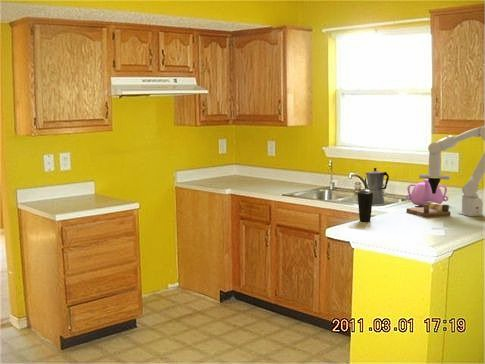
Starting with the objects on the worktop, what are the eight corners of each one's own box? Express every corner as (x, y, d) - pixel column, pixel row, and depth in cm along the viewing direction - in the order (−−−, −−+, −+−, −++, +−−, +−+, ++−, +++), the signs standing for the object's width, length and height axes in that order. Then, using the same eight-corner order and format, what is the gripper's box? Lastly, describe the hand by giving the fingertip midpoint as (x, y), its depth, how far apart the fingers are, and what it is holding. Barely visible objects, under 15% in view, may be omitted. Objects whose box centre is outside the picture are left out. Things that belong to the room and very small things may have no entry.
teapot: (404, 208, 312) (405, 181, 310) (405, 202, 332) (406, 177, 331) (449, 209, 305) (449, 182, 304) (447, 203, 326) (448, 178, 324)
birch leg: (425, 206, 301) (425, 201, 300) (430, 206, 302) (430, 201, 301) (444, 211, 287) (444, 205, 286) (449, 210, 288) (450, 205, 287)
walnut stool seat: (450, 215, 287) (450, 203, 286) (425, 217, 283) (425, 205, 282) (430, 210, 302) (430, 199, 301) (406, 212, 298) (406, 200, 297)
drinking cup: (376, 220, 276) (377, 178, 273) (367, 223, 270) (368, 179, 268) (362, 219, 281) (362, 177, 279) (353, 221, 275) (353, 178, 273)
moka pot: (369, 201, 334) (370, 166, 332) (393, 204, 323) (394, 168, 321) (360, 203, 328) (360, 167, 325) (384, 206, 317) (384, 169, 314)
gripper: (418, 166, 295) (417, 193, 297) (448, 167, 289) (447, 195, 290) (421, 165, 301) (420, 191, 303) (450, 166, 295) (450, 193, 296)
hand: (434, 193), depth 297 cm, fingers closed
